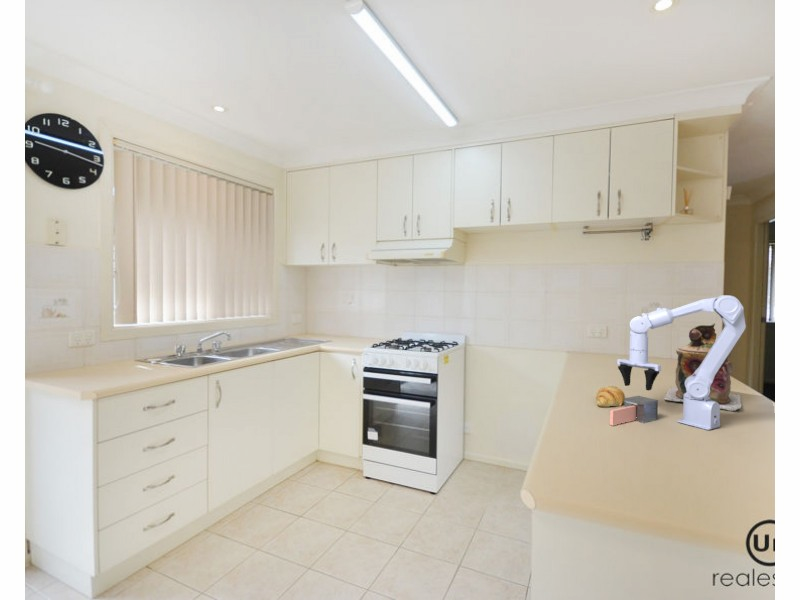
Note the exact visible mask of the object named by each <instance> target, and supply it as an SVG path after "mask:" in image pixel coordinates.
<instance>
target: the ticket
mask: <svg viewBox="0 0 800 600" xmlns="http://www.w3.org/2000/svg"><path fill="white" fill-rule="evenodd" d="M636 409H637V406H635V405H633V406H628V407H625V406H624V407H620V408H615V409H611V410H609V411H610V412H609V425H610V426H616V425H617V424H618V425H621V423H622V424H625V422H626V423H629V422H634V421H637V418H636Z"/></svg>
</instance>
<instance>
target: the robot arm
mask: <svg viewBox="0 0 800 600" xmlns="http://www.w3.org/2000/svg"><path fill="white" fill-rule="evenodd" d="M744 309H745V308H744V306H743V303H741V302H740V300H739V299H738V298H737V297H736V296H733V295H726V294H725V295H722V294H721V295H718V296H714V297H707V298H702V299H699V300H696V301H694V302H689V303H687V304H684V305H682V306H678V307H675V308H673V309H669V308H667V307H663V308H661V307H657V308H656V310H654V311H649V312H647V313H645V312H643V313H642V312H641V316H640V315H638V316H635V317H633V318H632V319H631V320H630V322H629V328H630V331H629V335H630V336H629V345H628V346H629V347H628V348H629V353H628V359H623V358H619V359H618V358H617V359H616V363H617V364H616V365H618V366H617V369H618V370H619V372H620V374H621V377H622V378H623V379H622V380H623V383H624V386H626V387H627V386H631V375H632V371H633V368H639V369H645V370H643V371H644V377H645V390H646V391H651V390H652V389H653V385H654V382H655V381H656V379H657V377H658V375H660V372H661V371H662V365H661V364H656V363H651V362H649V357H648V356H649V337H648V330H649V329H650V330H654V329H657V328H660V327H661V328H662V327H664V326H667V325H670V324H672V323H674V320H675V319H677V318H681V317H684V316H688V315H691V314H694V313H695V314H696V313H699V312H709V313H714V312H716V314H717V315H718V316H719V317H720V319H721V321H722V323H723V324H724V326H723V328H722V330H721V332H720V333H719V335H718V337H716V339H715V343H714V344H713V346H712V348H711V349H710V351H709V352H708V354H707V355H706V357H705V359H704V360H703V362H702V363H701V365H700V366H699V368H698V369H697V370H696V371H695V372H694V374H693V375H691V376H689V377H688V378H687V379H686V380H685V387H686V391H687V392H686V393H685V394H684V395H683V402H682V403H683V404H682V406H683V407H682V408H683V410H682V418H681V419H678V420H677V421H676V422H677V423H681V424H684V425H688V426H691V427H696V428H698V429H703V430H706V431H711V430H713V429H718V428H720V427H721V423H720V420H721V417H720V416H721V414H720V413H721V409H720V406H719V403H717V402H715V401H712V400H710V397H709V396H708V395H709V393H710V386H711V384H712V382H713V379H714V376H715V375H716V373H717V371H718V370H719V368H720V367H721V365H722V364H723V362H724V361H725V359H726V358H727V356H728V355H729V353H731V351H733V348H734V347H735V346H736V345H737V343H738V341H739V340H740V338H741V336H742V334H743V333H744V331H745V330H746V328H747V325H746V317H745V312H744V311H745V310H744Z"/></svg>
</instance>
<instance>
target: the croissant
mask: <svg viewBox="0 0 800 600" xmlns="http://www.w3.org/2000/svg"><path fill="white" fill-rule="evenodd" d="M625 398H626V396H625V392H624V391H623V390H622V389H620V388H619V387H618V386H613V385H611V386H604V387H602V388H599V389H598V390H597V392H596V397H595V399H596V405H597V406H599V407H601V408H602V407H604V408H605V407H606V408H608V407H609V408H610V406H616V407H621V406H622V405H623V404H625Z"/></svg>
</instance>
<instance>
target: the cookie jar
mask: <svg viewBox="0 0 800 600" xmlns="http://www.w3.org/2000/svg"><path fill="white" fill-rule="evenodd" d="M715 325H716V323H712V324H710V325H709V324H708V325H707V324H706V325H705V324H701V325H700V324H699V325H697V326H695V327H693V328H692V329H690V331H689V332H688V338H689V340H690V342H689V343H687V344H686V345H684V346H681V347H678V348H676V349H675V351H676V352H675V353H676V354H677V364H676V368H675V381H674V382H675V386H676V387H672V386H671V387H669V390H668V391H667V392H666V395H665V396H664V397H663V400H664V401H665V400H666V401H671V402H680V403H681V402H682V403H683V395H684V394H685V393H686V392H687V391H686V387H685V380H686V379H687V378H688V377H689V376H691V375H693V374H694V372H695V371H696V370H697V369H698V368H699V366H700V365H701V363H702V362H703V360H704V359H705V357H706V355H707V354H708V352H709V351H710V349H711V348H712V346H713V344H714V343H715V341H716V340H717V333H716V329H715ZM731 354H732V353H731V352H730V353H729V355H728V356H727V358H726V359H725V361H724V362H723V364H722V365H721V367H720V368H719V370H718V371H717V373H716V375H715V376H714V379H713V382H712V384H711V386H710V393H709V395H708V396H709V397H710V400H712V401H715V402H717V403H719V406H720V410H727V411H729V412H730V411H731V412H733V411H737V410H741V408H742V401H741V395H740V394H733V393H732V394H730V393H731V389H732V388H731V387H732V381H731V374H732V373H733V364H732V361H729V360H728V359H729V358H730V357H731Z"/></svg>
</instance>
